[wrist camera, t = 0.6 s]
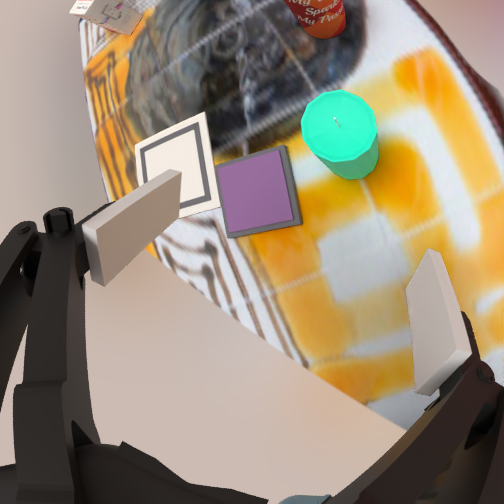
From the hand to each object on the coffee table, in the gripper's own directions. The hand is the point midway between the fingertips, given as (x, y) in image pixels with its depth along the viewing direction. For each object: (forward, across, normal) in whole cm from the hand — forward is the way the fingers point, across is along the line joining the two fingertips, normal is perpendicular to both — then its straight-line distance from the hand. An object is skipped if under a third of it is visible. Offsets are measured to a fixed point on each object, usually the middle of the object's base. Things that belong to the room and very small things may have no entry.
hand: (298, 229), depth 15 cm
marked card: (+21, +19, +8) cm, 30 cm away
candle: (+20, -3, 0) cm, 20 cm away
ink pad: (+19, +6, +7) cm, 21 cm away
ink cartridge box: (+36, +42, -14) cm, 57 cm away
